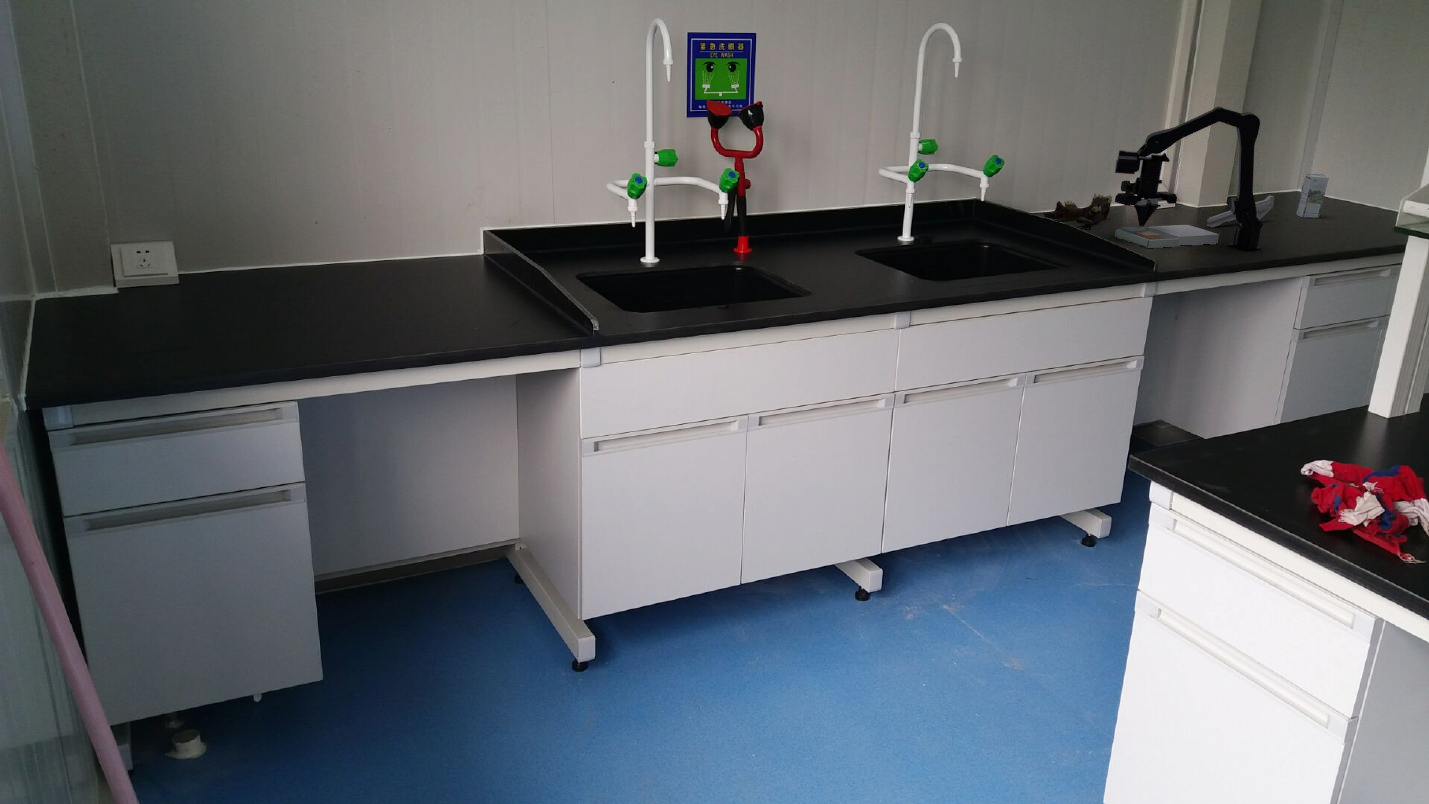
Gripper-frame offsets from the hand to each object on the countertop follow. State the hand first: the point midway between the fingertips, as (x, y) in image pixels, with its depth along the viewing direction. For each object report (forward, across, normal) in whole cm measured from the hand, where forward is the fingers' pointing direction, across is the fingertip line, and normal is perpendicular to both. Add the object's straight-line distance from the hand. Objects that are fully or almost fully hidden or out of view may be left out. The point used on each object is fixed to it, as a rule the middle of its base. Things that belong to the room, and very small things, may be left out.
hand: (1141, 226), depth 336 cm
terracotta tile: (+1, +2, +6) cm, 6 cm away
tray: (+4, +1, +4) cm, 6 cm away
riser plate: (+4, -12, +4) cm, 14 cm away
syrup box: (+4, -83, -18) cm, 85 cm away
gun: (+4, -48, -12) cm, 50 cm away
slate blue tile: (+1, +2, 0) cm, 2 cm away
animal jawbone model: (+5, +2, -24) cm, 24 cm away
